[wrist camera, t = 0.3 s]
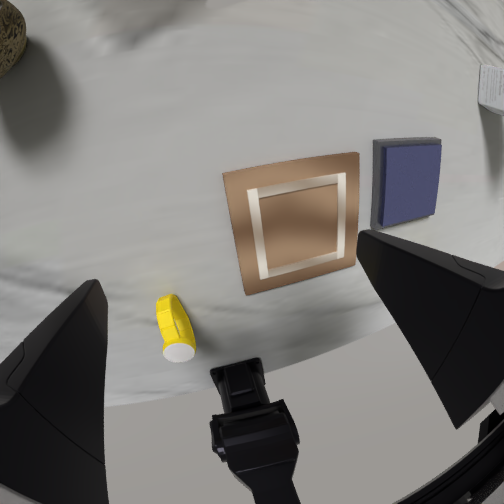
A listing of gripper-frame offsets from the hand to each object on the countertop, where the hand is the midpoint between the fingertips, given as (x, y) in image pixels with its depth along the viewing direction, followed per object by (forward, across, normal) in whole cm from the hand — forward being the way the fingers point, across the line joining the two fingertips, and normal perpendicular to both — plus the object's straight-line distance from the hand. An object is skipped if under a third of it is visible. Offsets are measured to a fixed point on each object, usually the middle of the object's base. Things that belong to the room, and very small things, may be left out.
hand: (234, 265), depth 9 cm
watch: (+15, +5, +13) cm, 20 cm away
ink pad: (+14, -20, +3) cm, 25 cm away
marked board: (+14, -8, +6) cm, 18 cm away
